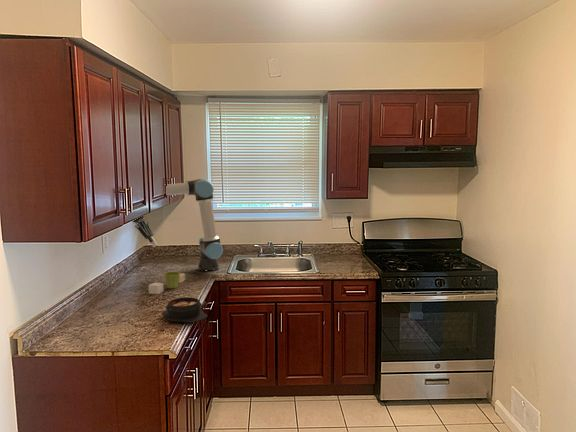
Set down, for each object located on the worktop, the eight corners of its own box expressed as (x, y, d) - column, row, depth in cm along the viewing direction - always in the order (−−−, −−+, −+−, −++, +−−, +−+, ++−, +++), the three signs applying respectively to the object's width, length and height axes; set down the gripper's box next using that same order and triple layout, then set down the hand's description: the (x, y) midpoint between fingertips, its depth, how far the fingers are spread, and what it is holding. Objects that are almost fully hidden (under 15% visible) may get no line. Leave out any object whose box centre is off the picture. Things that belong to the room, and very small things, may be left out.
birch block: (171, 282, 280) (171, 275, 280) (176, 280, 286) (176, 272, 285) (180, 283, 279) (180, 275, 278) (185, 281, 284) (184, 273, 284)
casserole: (152, 318, 214) (151, 301, 213) (182, 308, 229) (182, 292, 228) (186, 329, 199) (185, 311, 198) (216, 318, 214) (216, 301, 213)
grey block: (148, 293, 257) (148, 285, 257) (154, 290, 263) (154, 282, 262) (157, 294, 255) (157, 285, 255) (163, 291, 261) (163, 283, 261)
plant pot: (172, 284, 276) (172, 270, 275) (183, 286, 271) (183, 272, 270) (161, 288, 268) (160, 274, 267) (172, 290, 263) (171, 276, 262)
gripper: (136, 216, 284) (156, 247, 283) (125, 218, 271) (145, 251, 271) (145, 210, 282) (164, 241, 282) (134, 212, 269) (155, 244, 269)
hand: (155, 246), depth 276 cm, fingers closed
